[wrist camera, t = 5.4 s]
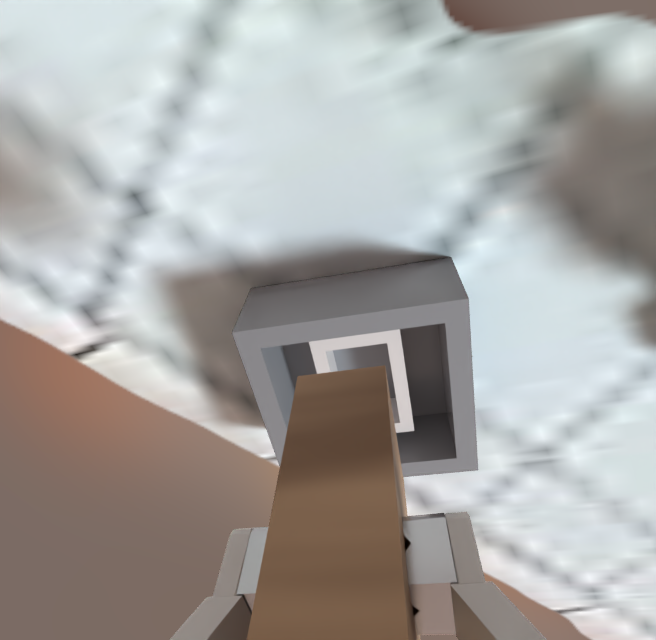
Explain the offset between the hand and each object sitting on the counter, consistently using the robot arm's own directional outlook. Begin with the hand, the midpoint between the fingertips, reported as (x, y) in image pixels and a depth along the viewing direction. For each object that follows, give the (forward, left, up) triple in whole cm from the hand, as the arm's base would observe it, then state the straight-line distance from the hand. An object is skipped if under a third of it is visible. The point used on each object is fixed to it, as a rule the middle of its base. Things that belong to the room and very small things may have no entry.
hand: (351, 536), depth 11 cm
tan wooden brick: (0, 0, -4) cm, 4 cm away
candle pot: (+8, -1, -18) cm, 20 cm away
